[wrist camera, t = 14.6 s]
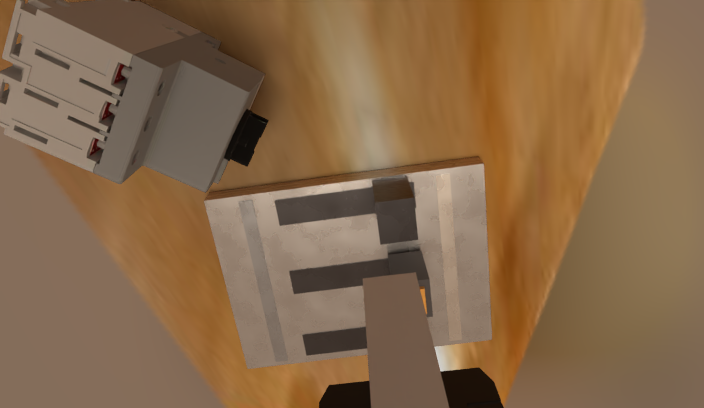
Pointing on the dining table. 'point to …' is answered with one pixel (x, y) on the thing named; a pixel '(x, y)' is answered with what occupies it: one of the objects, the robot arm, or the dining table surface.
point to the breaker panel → (350, 256)
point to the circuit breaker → (126, 91)
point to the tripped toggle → (411, 264)
